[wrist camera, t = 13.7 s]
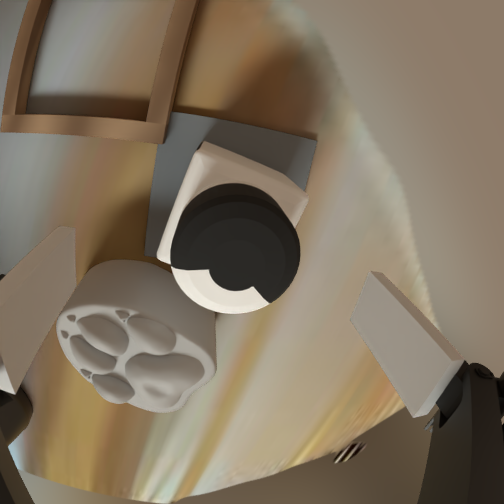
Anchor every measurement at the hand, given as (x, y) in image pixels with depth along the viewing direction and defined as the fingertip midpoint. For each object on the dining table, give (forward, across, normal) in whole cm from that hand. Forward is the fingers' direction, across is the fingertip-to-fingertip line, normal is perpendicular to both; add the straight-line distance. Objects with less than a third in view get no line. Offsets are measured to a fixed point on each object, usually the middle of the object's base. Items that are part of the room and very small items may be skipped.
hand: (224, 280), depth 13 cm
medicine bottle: (+13, +1, 0) cm, 13 cm away
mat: (+13, +1, 0) cm, 13 cm away
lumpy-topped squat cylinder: (+14, -5, -12) cm, 19 cm away
